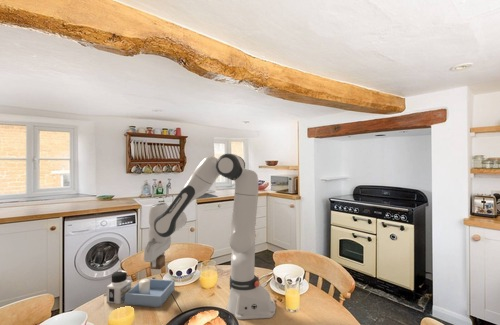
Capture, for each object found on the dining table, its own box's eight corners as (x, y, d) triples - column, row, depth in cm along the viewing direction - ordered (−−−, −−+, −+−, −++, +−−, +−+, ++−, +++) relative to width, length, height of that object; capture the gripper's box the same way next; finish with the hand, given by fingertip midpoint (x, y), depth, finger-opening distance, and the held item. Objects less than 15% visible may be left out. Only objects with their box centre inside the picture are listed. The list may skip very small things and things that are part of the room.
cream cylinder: (151, 292, 123) (151, 279, 123) (146, 298, 118) (146, 283, 118) (142, 292, 124) (142, 278, 124) (136, 297, 119) (136, 283, 119)
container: (120, 304, 114) (120, 276, 114) (106, 302, 116) (106, 275, 116) (131, 295, 122) (131, 269, 122) (118, 293, 123) (118, 268, 123)
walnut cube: (164, 265, 123) (164, 255, 123) (160, 269, 118) (160, 259, 118) (155, 264, 123) (155, 254, 123) (150, 268, 118) (150, 258, 118)
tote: (174, 289, 127) (174, 280, 128) (160, 307, 112) (160, 296, 112) (143, 287, 129) (143, 278, 130) (124, 304, 114) (124, 293, 114)
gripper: (153, 242, 110) (153, 273, 110) (172, 230, 130) (172, 256, 130) (140, 242, 111) (140, 272, 110) (161, 230, 131) (161, 255, 131)
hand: (157, 263), depth 120 cm, fingers closed on walnut cube, 5 cm apart
